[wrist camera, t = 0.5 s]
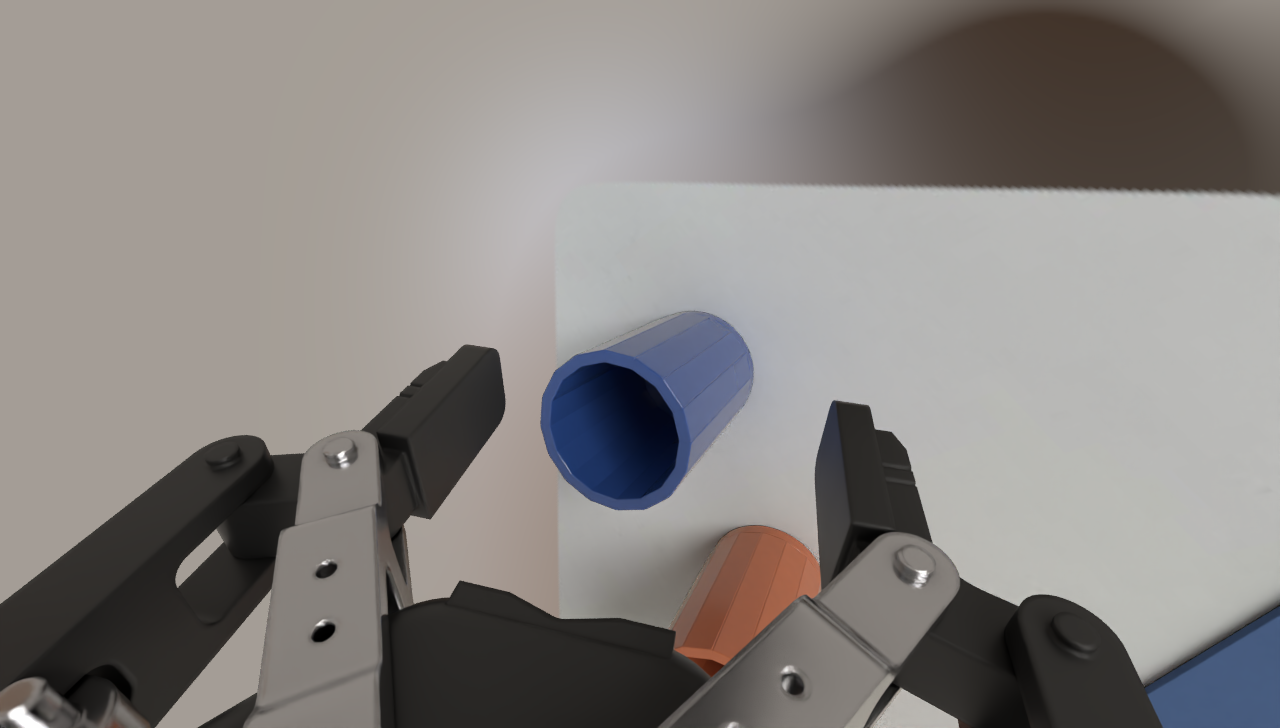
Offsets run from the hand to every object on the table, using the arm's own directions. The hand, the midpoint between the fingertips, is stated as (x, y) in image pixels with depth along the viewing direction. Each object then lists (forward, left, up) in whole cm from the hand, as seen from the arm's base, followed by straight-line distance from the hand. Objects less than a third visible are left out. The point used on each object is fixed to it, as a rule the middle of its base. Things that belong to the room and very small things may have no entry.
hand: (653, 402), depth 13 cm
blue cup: (+6, -2, -16) cm, 17 cm away
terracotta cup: (+14, +8, -16) cm, 23 cm away
